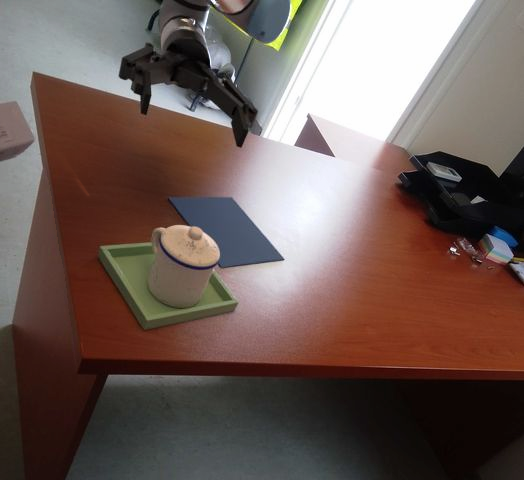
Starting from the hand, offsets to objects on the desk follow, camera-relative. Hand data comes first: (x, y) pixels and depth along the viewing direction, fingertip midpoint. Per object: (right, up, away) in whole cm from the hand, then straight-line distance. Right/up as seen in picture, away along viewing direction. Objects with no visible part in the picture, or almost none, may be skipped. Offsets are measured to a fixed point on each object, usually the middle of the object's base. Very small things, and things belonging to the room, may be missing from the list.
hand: (196, 122), depth 61 cm
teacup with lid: (-6, -20, +11) cm, 24 cm away
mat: (+2, -7, +28) cm, 29 cm away
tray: (-6, -20, +11) cm, 24 cm away
